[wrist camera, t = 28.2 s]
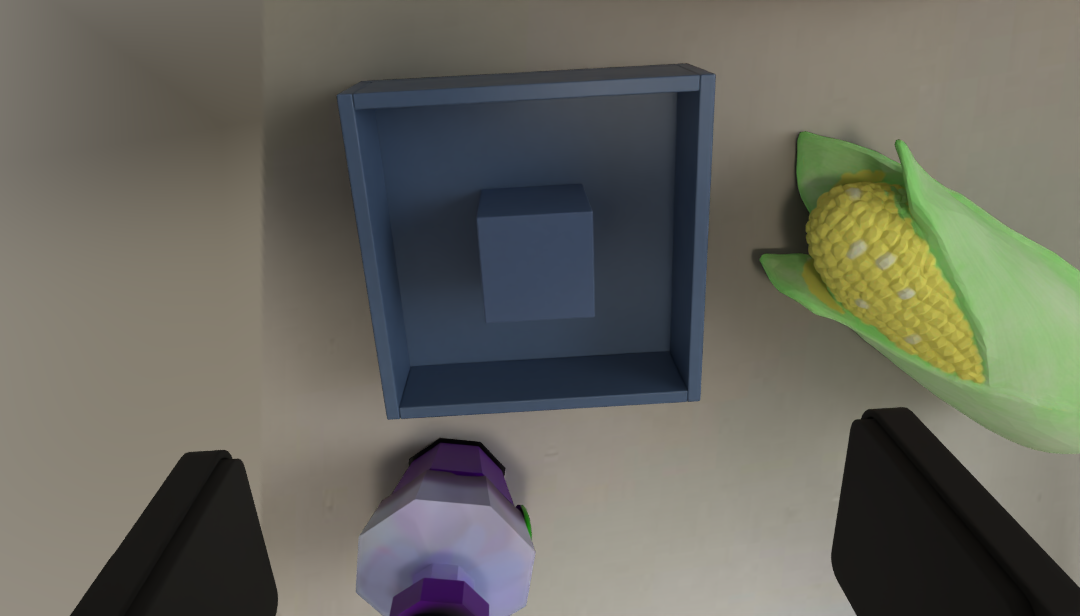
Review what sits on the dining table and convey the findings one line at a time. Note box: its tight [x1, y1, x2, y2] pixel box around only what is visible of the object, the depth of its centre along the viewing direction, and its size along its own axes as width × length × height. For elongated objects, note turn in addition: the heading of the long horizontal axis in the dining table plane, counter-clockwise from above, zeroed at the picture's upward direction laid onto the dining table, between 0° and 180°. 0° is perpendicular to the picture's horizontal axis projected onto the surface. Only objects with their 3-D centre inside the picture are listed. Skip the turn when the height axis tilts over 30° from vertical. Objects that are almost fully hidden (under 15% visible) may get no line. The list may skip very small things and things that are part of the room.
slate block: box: [476, 184, 595, 323], centre depth 31 cm, size 5×5×5 cm
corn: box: [759, 131, 1080, 454], centre depth 32 cm, size 8×8×20 cm
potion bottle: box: [356, 438, 535, 616], centre depth 34 cm, size 9×9×12 cm
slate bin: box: [337, 63, 716, 420], centre depth 32 cm, size 14×14×5 cm
